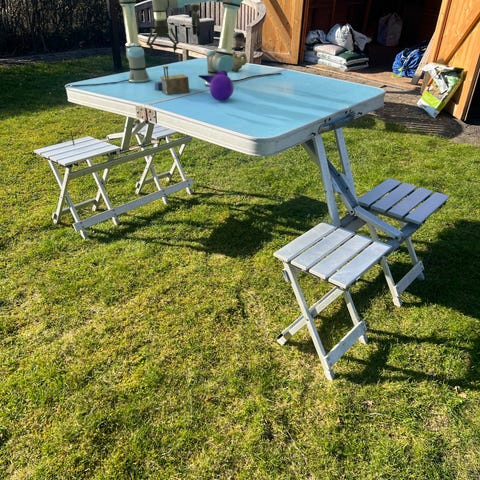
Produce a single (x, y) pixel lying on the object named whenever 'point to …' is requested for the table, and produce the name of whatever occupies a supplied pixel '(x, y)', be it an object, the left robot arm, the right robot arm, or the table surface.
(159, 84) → the block
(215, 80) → the toy
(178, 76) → the lid
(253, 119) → the table surface
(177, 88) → the chest
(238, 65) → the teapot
